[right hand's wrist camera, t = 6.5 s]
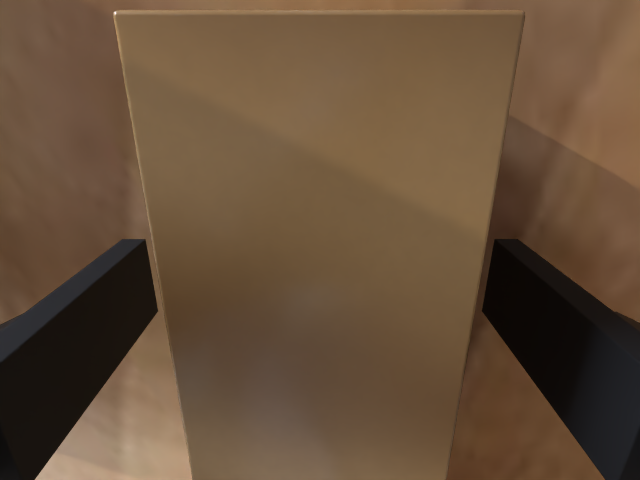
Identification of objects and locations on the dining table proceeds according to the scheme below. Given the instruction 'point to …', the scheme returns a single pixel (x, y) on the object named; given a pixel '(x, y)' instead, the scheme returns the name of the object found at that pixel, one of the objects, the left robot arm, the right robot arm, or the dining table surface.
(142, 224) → the dining table surface
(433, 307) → the bar
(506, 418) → the dining table surface
